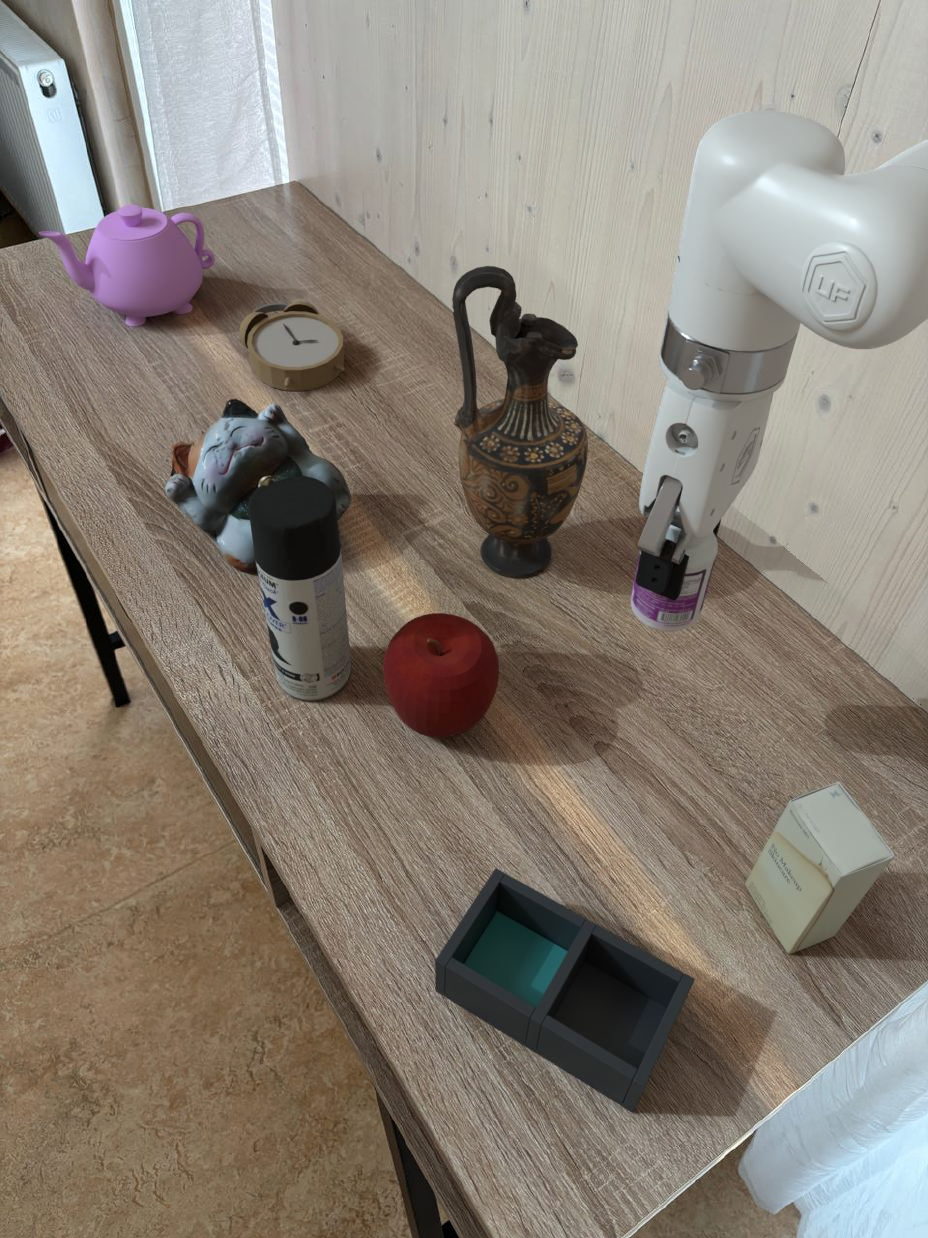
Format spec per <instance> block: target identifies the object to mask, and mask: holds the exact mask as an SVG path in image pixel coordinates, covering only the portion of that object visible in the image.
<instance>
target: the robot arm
mask: <svg viewBox="0 0 928 1238" xmlns="http://www.w3.org/2000/svg"><path fill="white" fill-rule="evenodd" d="M845 154H846V153H845V149H844V146H843V144H842V142H841V140H840V138H839V137H838V136H837V135H836V134H835V133H834V132H833V130H832V129H830V128H829V127H827V126H826V125H824V124H822V123H821V122H819V121H818V120H817V121H816V120H814V119H812V118H809V117H805V116H802V115H800V114H795V113H790V112H786V111H777V110H750V111H743V112H737V113H733V114H729V115H728V116H726V117H723V118H722V119H720V120H718V121H717V122H714V124H712V125H711V126H710V128H708V130H707V131H706V132H705V133H704V135H703V136H702V137H701V140H700V142H699V144H698V147H697V149H696V154H695V158H694V162H693V167H692V172H691V178H690V183H689V188H688V193H687V194H688V195H687V199H686V206H685V211H684V216H683V222H682V227H681V233H680V240H679V244H678V250H677V254H676V255H677V256H676V262H675V267H674V272H673V279H672V284H671V289H670V296H669V301H668V308H667V311H666V318H665V323H664V329H663V333H662V340H661V345H660V351H659V356H658V363H659V367H660V371H661V372H662V373H663V375H664V376H665V377H666V382H665V386H664V389H663V394H662V396H661V400H660V403H659V407H658V408H657V415H656V418H655V422H654V426H653V430H652V434H651V438H650V442H649V445H648V449H647V455H646V457H645V458H646V459H645V464H644V468H643V473H642V478H641V484H640V490H639V500H638V508H639V512H640V513H641V515H642V517H647V516H648V518H647V520H646V522H645V525H644V527H643V529H642V532H641V534H640V536H639V539H638V542H637V545H636V549H637V550H639V551H640V550H641V555H640V560H639V565H638V571H637V576H636V583H637V585H639V586H640V587H643V588H645V589H647V590H650V591H652V592H654V593H657V594H659V595H661V596H664V597H666V598H668V599H671V600H676V599H677V598H678V597H679V595H680V593H681V589H682V585H683V581H684V577H685V573H686V569H687V565H688V560H689V556H688V555H686V554H685V552H686V549H687V546H688V543H689V540H690V538H691V535H692V536H695V537H696V538H702V537H704V536H706V535H708V534H709V533H711V532H712V530H713V533H714V535H715V536H716V539H717V537H718V534H719V531H720V526H721V523H722V518H723V517H724V516H725V514H726V513H727V511H728V510H729V509H730V507H731V506H732V504H733V503H734V501H735V500H736V499H737V498H738V496H739V494H740V492H741V491H742V490H743V488H744V487H745V485H746V484H747V482H748V481H749V479H750V478H751V476H752V474H753V473H754V471H755V469H756V466H757V464H758V462H759V458H760V454H761V450H762V445H763V441H764V437H765V432H766V428H767V425H768V421H769V415H770V410H771V407H772V404H773V403H772V401H773V398H774V393H775V392H776V391H778V390H779V389H780V388H781V387H782V386H783V384H784V382H785V379H786V378H787V377H786V376H787V373H788V370H789V369H788V368H789V365H790V362H791V359H792V356H793V351H794V349H795V345H796V342H797V338H798V334H799V331H800V327H801V325H802V326H804V327H806V328H807V329H808V330H810V331H811V332H813V333H814V334H816V335H817V336H819V337H820V338H822V339H824V340H826V341H828V342H831V343H833V344H835V345H838V346H840V347H843V348H848V349H852V350H873V349H877V348H882V347H884V346H888V345H891V344H893V343H896V342H897V341H899V340H900V339H902V338H904V337H906V336H908V335H909V334H910V333H911V332H913V331H914V330H915V329H916V328H918V327H919V326H920V325H921V324H923V323H924V322H926V321H927V320H928V138H926V139H924V140H922V141H921V142H919V143H917V144H915V145H913V146H911V147H909V148H907V149H905V150H903V151H902V152H900V153H898V154H897V155H895V156H893V157H892V158H891V159H889V160H887V161H886V162H884V163H883V164H881V165H880V166H878V167H876V168H874V169H870V170H865V171H861V172H856V173H851V174H849V173H848V174H845V170H846V155H845ZM678 507H679V511H680V512H678V511H676V510H677V508H678ZM670 525H673V526H675V527H678V528H680V529H681V531H680V534H679V537H678V540H677V543H675V542H673V541H671V540H669V539H666V534H667V531H668V529H669V527H670Z"/></svg>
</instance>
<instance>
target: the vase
mask: <svg viewBox="0 0 928 1238" xmlns="http://www.w3.org/2000/svg"><path fill="white" fill-rule="evenodd" d="M484 288H492V289H498V290H499V291H500V294H499V296H498V297H497V300H496V302H495V304H494V306H493V308H492V310H491V313H490V317H489V329H490V335H492V337H493V336H494V338H495V340H494V341H495V349H496V354H497V357H498V359H499V360H500V361H501V362H503V364H504V366H505V370H506V375H507V379H506V380H507V381H506V387H505V393H504V394H505V395H504V398H501V399H497V400H495V401H492V402H490V403H487V404H485V405H483V406H482V407H480V408H478V403H477V402H478V401H477V395H478V394H477V392H478V391H477V371H476V362H475V354H474V346H473V338H472V332H471V326H470V322H469V317H468V311H467V310H468V309H467V303H466V300H467V298H468V297H469V296H470V295H471V294H472V293H473V292H475V291H476V290H479V289H484ZM516 289H517V287H516V282H515V280H514V277H513V276H512V274H511V273H510V272H509V271H508V270H506V269H504V268H501V267H498V266H494V265H484V266H483V265H482V266H478V267H475V268H473V269H471V270H469V271H467V272H465V273H464V274H463V275H461V276H460V277H459V279H458V280H457V281H456V283H455V285H454V288H453V292H452V299H451V301H452V304H451V305H452V306H451V308H452V310H453V312H452V315H453V322H454V327H455V333H456V339H457V344H458V345H457V346H458V351H459V357H460V358H459V359H460V367H461V372H462V382H463V383H462V384H463V385H462V386H463V404H462V406H461V407H460V408H459V409H458V410H457V411H456V414H455V418H454V423H453V425H454V426H455V427H457V429H459V431H460V432H461V433H460V438H459V444H458V469H459V477H460V483H461V487H462V490H463V495H464V498H465V501H466V504H467V506H468V509H469V510H470V511H469V512H470V514H471V516H473V517H472V518H473V519H474V520H475V522H476V523H477V524H478V525H479V526H480V528H481V529H482V530H483V531H485V532H486V533H487V534H488V535H487V536H486V537H485V538H484V539H483V541H482V543H481V545H480V557H481V559H482V561H483V563H484V564H485V565H486V566H487V568H488V569H490V570H491V571H492V572H494V573H495V574H498V575H500V576H504V577H507V578H513V579H522V578H529V577H533V576H536V575H538V574H540V573H541V572H542V571H545V569H546V568H547V567H548V566H549V564H550V562H551V561H552V557H553V550H552V549H553V548H552V547H551V544H550V542H549V540H548V538H549V537H550V536H552V535H554V534H555V533H556V532H557V531H558V530H559V529H560V528H561V527H562V526H563V524H564V522H565V521H566V520H567V519H568V517H569V516H570V514H571V511H572V509H573V507H574V505H575V503H576V500H577V498H578V495H579V493H580V489H581V487H582V484H583V480H584V477H585V473H586V470H587V469H586V468H587V462H588V455H589V454H588V453H589V439H588V433H587V429H586V427H585V426H584V424H583V422H582V421H581V419H580V418H579V417H578V416H577V415H576V414H575V413H574V412H572V411H571V410H570V409H568V408H566V407H565V406H562V405H560V404H558V403H556V402H552V401H550V400H549V393H548V392H549V391H548V386H549V377H550V373H551V371H552V369H553V367H554V366H555V364H556V363H557V362H558V360H562V361H568V360H571V359H573V358H575V356H576V354H577V348H578V346H579V343H578V340H577V338H576V336H575V335H574V334H573V333H572V332H571V331H569V329H567V328H566V326H564V325H562V324H561V323H558V322H556V321H555V320H553V319H551V318H548V317H542V316H539V317H538V316H537V315H536V314H535V313H524V314H523V315H522V310H523V308H522V306H521V305H520V304H519V303H518V302H517V290H516Z"/></svg>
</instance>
